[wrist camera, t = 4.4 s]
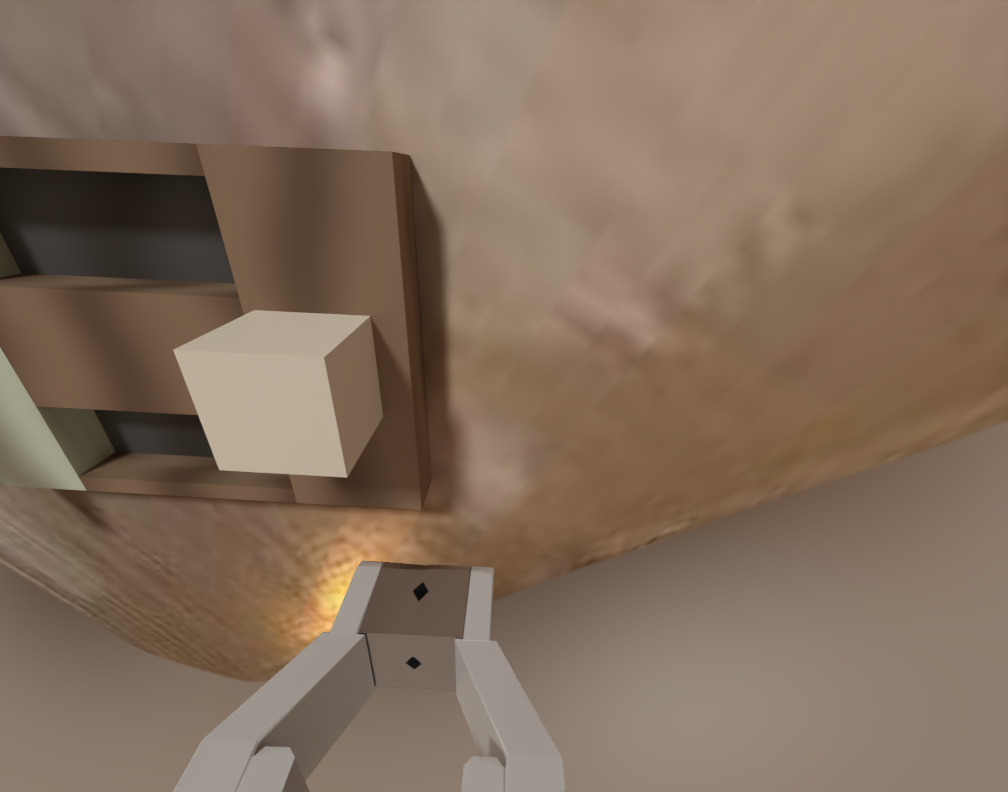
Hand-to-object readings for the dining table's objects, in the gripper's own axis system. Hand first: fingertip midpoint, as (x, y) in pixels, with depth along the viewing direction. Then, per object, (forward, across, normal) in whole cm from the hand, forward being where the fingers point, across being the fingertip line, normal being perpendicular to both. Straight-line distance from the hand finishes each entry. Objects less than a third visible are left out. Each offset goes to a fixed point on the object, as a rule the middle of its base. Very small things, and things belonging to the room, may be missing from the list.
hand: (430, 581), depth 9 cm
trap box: (+13, +16, 0) cm, 21 cm away
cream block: (+10, +7, 0) cm, 13 cm away
